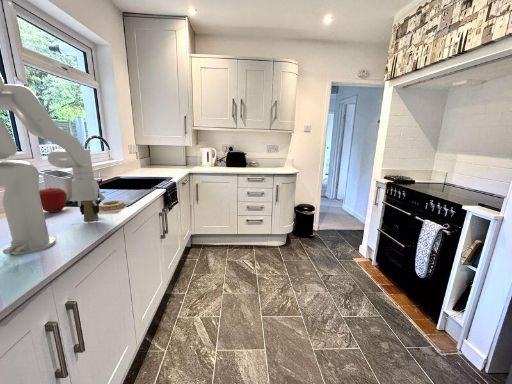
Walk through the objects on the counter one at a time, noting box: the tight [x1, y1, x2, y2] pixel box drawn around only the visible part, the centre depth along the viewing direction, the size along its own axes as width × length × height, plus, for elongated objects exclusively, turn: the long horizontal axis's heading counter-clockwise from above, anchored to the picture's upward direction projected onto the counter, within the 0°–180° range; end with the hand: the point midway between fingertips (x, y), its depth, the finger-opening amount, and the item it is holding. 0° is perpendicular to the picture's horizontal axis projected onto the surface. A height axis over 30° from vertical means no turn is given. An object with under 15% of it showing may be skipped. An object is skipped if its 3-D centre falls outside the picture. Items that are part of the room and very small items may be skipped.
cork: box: [82, 201, 99, 223], centre depth 112 cm, size 6×6×11 cm
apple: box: [39, 187, 68, 214], centre depth 123 cm, size 12×12×13 cm
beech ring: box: [99, 199, 125, 210], centre depth 131 cm, size 12×12×2 cm
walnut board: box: [97, 201, 132, 215], centre depth 128 cm, size 20×16×1 cm
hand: (90, 213), depth 113 cm, fingers open, 4 cm apart
